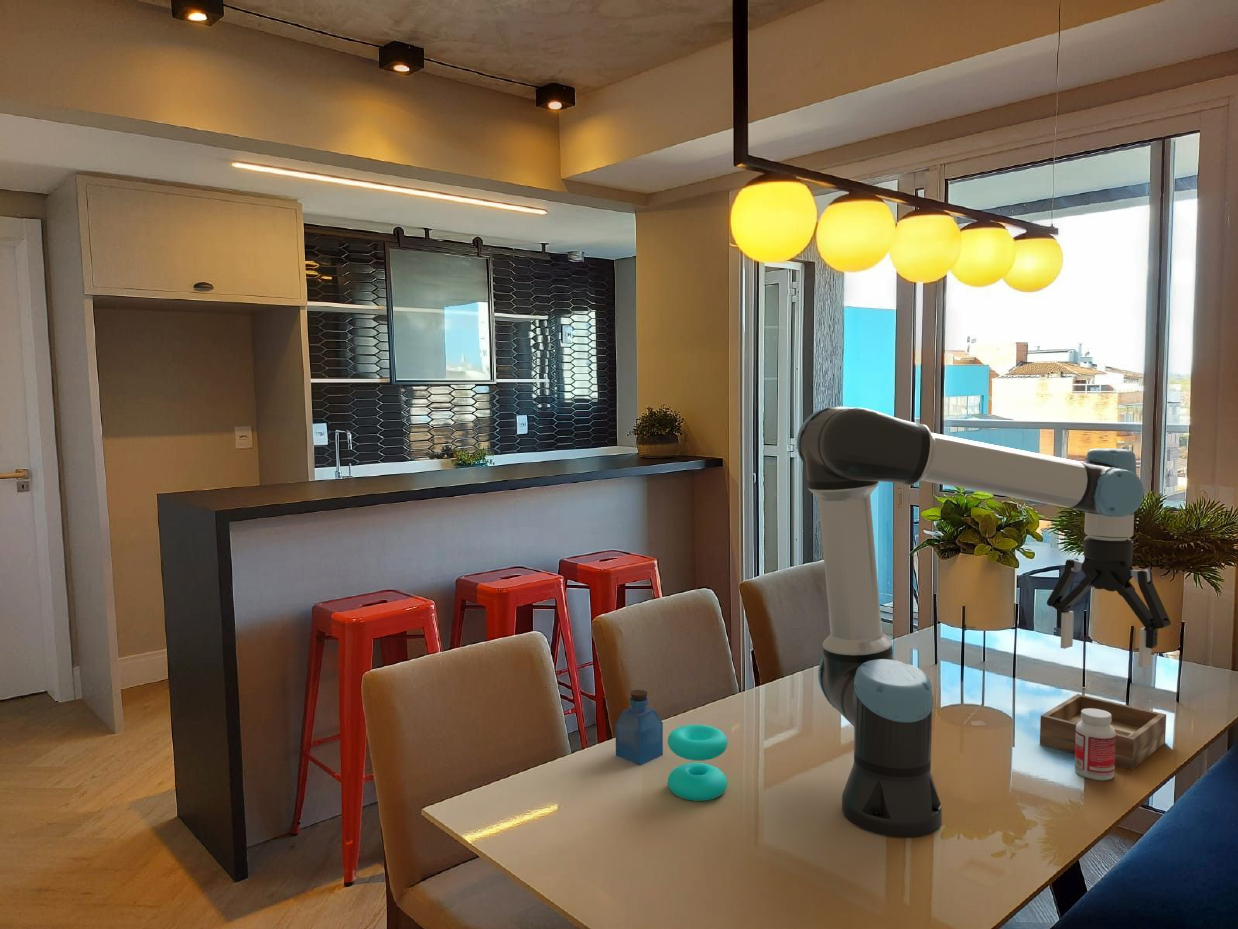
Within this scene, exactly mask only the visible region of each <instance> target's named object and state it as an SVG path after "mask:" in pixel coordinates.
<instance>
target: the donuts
mask: <svg viewBox="0 0 1238 929" xmlns="http://www.w3.org/2000/svg"><path fill="white" fill-rule="evenodd" d="M667 745H668V748H669V749H670V751H671V752H672V753H673V754H674V755H676V756H678V757H680V758H681V759H682V758H683V759H685V760H689V761H693V762H688V763H683V764H681V765H678V766H677V767H675V768H673V769H672V770H671V771H670V772H669V776H668V778H667V785H668V788H669V789H670V791H671V792H672V793H673V794H674V795H676V796H678V797H679V798H681V799H685V800H688V801H697V802H700V801H702V802H703V801H704V802H705V801H710V800H714V799H717V798H719V797H720V796H721V795H723V794H724V793H725V791H726V790H727V787H728V780H727V776H726V775H725V773H724V772H723V771H722V770H720V768H718V767H716V766H714V765H712V764H708V763H703V761H709V760H713V759H716V758H718V757H720V756H721V755H722V754H723V753H724V752H725V751H726V750H727V747H728V739H727V736H726V734H725V733H724V732H723V731H722V730H720V729H719V728H716V727H714V726H712V725H711V726H710V725H707V724H687V725H683V726H679V727H677V728H675V729H673V730H672V731H671V732H670V733H669V734H668V737H667ZM694 761H697V762H694ZM698 761H702V762H698Z"/></svg>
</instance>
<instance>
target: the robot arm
mask: <svg viewBox="0 0 1238 929" xmlns="http://www.w3.org/2000/svg"><path fill="white" fill-rule="evenodd" d="M796 449H797V452H798V456H799V458H800V460H801V462H802V463H803V465H804V466H805V467H806V469H805V470H806V479H807V488H808V491H810V492H811V493H812V494H813V495H814V496H815V497H816V498H817V500H818V509H819V511H818V512H819V520H820V530H821V542H822V544H821V545H822V554H823V564H824V575H825V587H826V596H827V605H828V606H827V608H828V619H829V630H830V633H829V635H828V636H827V637H826V638H825V639H824V641H823V642H822V650H823V657H822V658H821V660H820V663H819V666H818V670H817V672H818V674H817V678H818V684H819V685H820V686H819V687H820V689H821V692H822V693H823V696H824V698H826V700H827V701H828V703H829V705H831V706H832V707H833V708H834V709H836V711H837V712H839V714H840V715H842V716H843V718H844V719H845V720H847V722H849V724H850V725H851V726H852V727H853V729H854V731H853V732H854V733H853V734H854V736H853V741H854V742H853V764H852V767H851V770H850V773H849V775H848V778H847V780H846V782H845V786H844V789H843V792H842V797H841V811H842V814H843V816H844V817H845V818H846V819H847V820H848V821H849V823H850V822H851V824H853V825H855V826H856V827H858V828H860V829H863V830H865V831H868V832H871V833H874V834H876V835H877V834H878V835H882V836H887V837H894V838H917V837H923V836H927V835H931V834H933V833H935V832H936V831H937V830H939V828H940V827H941V825H942V818H943V817H942V816H943V811H942V810H943V809H942V804H941V801H940V797H939V794H938V791H937V788H936V784H935V782H934V778H933V774H932V770H931V768H932V743H933V742H932V741H933V738H932V737H933V736H932V734H933V708H934V705H935V704H934V696H933V695H934V694H933V685H932V682H931V679H930V677H929V676H928V675H927V674H926V673H925V672H924V671H923V670H921V669H920V668H919V667H917V666H915V665H912V664H907V663H905V662H904V661H901V660H900V661H899V660H894V650H893V648H894V647H893V646H894V645H893V640H892V639H891V638H890V637H889V636H888V635H886V634H885V633H884V632H883V631H882V629H883V628H882V618H881V617H882V616H881V605H880V595H879V593H880V592H879V583H878V570H877V558H876V548H875V547H876V546H875V545H876V544H875V534H874V526H873V525H874V523H873V513H872V502H871V500H872V499H871V494H872V493H873V492H874V490H875V489H876V488H877V487H878V486H879V484H880V483H879V482H884V483H885V482H886V483H887V482H888V483H896V484H902V485H908V486H915V485H917V484H918V483H920V482H921V481H922V482H928V483H933V484H938V485H944V486H949V487H954V488H960V489H965V490H971V491H975V492H976V491H977V492H980V493H981V492H983V493H987V494H993V495H998V496H1004V497H1009V498H1014V499H1018V500H1019V499H1020V500H1021V501H1023V502H1024V503H1026V504H1028V505H1035V506H1037V505H1040V506H1041V507H1042V506H1047V505H1050V506H1057V507H1061V508H1062V507H1063V508H1068V509H1071V510H1078V511H1083V512H1084V528H1083V531H1084V534H1085V535H1087V536H1085V538H1083V561H1081V560H1079V558H1075V557H1074V558H1069V559H1066V560H1065V563H1064V570H1063V572H1062V574H1061V576H1060V577H1059V579H1058V582H1057V583H1056V585H1055V586H1054V588H1053V590H1052V592H1051V594H1050V595H1049V597H1048V598H1047V601H1046V605H1047V606H1048V607H1052V608H1054V609H1055V610H1056V612H1057V613H1056V616H1057V618H1056V626H1057V629H1060V649H1063V650H1066V649H1069V648H1072V647H1073V642H1074V620H1075V619H1074V618H1075V617H1074V614H1075V612H1074V611H1073V610H1071V608H1072V607H1074V605H1075V604H1076V603H1077V602H1078V601H1079V600H1080V599H1081V598H1083V596H1085V595H1086V594H1087V593H1088V591H1090V589H1092V588H1093V587H1094V589H1096V590H1106V591H1107V592H1117V593H1118V595H1119V596H1121V597H1122V598H1123V600H1124V601H1125V603H1127V605H1128V606H1129V608H1130V609H1131V610H1132V611H1133V613H1134V615H1135V616H1136V617H1137V619H1138V620H1139V621H1140V623H1141V624H1142V625H1143V627H1141V628H1139V637H1138V638H1139V639H1138V662H1137V663H1138V665H1137V666H1138V667H1140V668H1146V667H1148V666H1151V665H1152V649H1155V648H1157V645H1158V635H1159V634H1158V632H1159V629H1164V628H1167V627H1170V626H1171V625H1172V622H1171V620H1170V617H1169V615H1168V613H1167V611H1166V609H1165V607H1164V604H1163V602H1162V599H1161V597H1160V595H1159V594H1158V591H1157V589H1156V587H1155V584H1154V583H1153V573H1152V572H1153V571H1152V570H1151V569H1150V568H1145V569H1134V568H1133V565H1132V564H1133V563H1132V561H1133V557H1134V556H1133V555H1134V541H1133V539H1131V538H1132V537H1133V536H1134V524H1135V517H1134V516H1135V512H1136V511H1137V510H1138V509H1139V508H1140V506H1141V504H1142V502H1143V499H1144V495H1145V490H1144V485H1143V482H1142V480H1141V478H1140V477H1139V476H1138V475H1137V461H1136V455H1135V452H1134V451H1133V450H1131V449H1127V448H1111V447H1109V448H1108V447H1106V448H1091V449H1089V450H1088V451H1087V453H1086V457H1085V460H1078V461H1077V460H1075V459H1073V460H1072V459H1067V458H1064V457H1063V458H1062V457H1057V456H1054V455H1053V456H1052V455H1047V454H1042V453H1037V452H1031V451H1027V450H1022V449H1016V448H1012V447H1007V446H1001V445H995V444H991V443H987V442H986V443H985V442H981V441H975V440H972V439H971V440H970V439H965V438H960V437H956V436H950V435H949V436H948V435H945V434H940V433H935V432H931V430H930V428H929V427H928V426H927V425H926V424H924V423H918V422H913V421H909V420H904V419H901V418H898V417H894V416H891V415H889V414H886V413H883V412H880V411H876V410H874V409H870V408H866V407H852V406H851V407H850V406H849V407H848V406H835V405H833V406H830V407H826V408H822V409H819V410H816V411H814V412H813V413H812V414H810V415H809V416H808V417H807V418H806V419H805V420H804V422H803V423H802V424H801V426H800V428H799V430H798V433H797V436H796ZM1081 570H1082V572H1083V573H1084V575H1085V576H1084V578H1083V579H1081V581H1080V582H1079V583H1078V585H1076V587H1075V588H1074V589H1073V590H1072V591H1071V592H1069V593H1068V594H1067V595H1066V593H1067V591H1068V590H1069V589H1070V587H1071V585H1072V583H1073V582H1074V579H1075V577H1076V576H1077V574H1078V572H1080V571H1081ZM1132 578H1134V581H1135V583H1136V582H1137V583H1138V587H1139V590H1140V591H1141V595H1142V597H1143V599H1144V600H1145V601H1143V599H1141V597H1140V595H1139V593H1137V592H1136V587H1135V586H1134V585H1133V584H1132V582H1131V581H1130V580H1131V579H1132ZM1145 603H1146V604H1145Z"/></svg>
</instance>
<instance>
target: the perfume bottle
mask: <svg viewBox="0 0 1238 929" xmlns="http://www.w3.org/2000/svg"><path fill="white" fill-rule="evenodd" d="M647 696H648V691H646V690H644V689H635V690H631V691H630V698H629V705H630V707H628V708H626V709H624V710H623V711H622V713H621V714H620V716H619V717H618V719H617V720H616V722H615V757H618V758H619V759H623V760H626V761H628V762H631V763H634V764H636V765H639V766H643V765H645V764H646V763H649V762H651V761H653V760H655V759H657V758H659V757H662V756H663V754H664V753H663V752H664V743H663V742H664V741H663V740H664V737H663V736H664V735H663V734H664V731H663V730H664V729H663V728H664V725H663V724H664V723H663V721H662V719H661V718H660V716H659V715H658V713H657V712H656V710H655V709H654V708H653V709H652V708H650V707H648V705H649V698H648V697H647Z"/></svg>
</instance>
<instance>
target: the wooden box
mask: <svg viewBox="0 0 1238 929" xmlns="http://www.w3.org/2000/svg"><path fill="white" fill-rule="evenodd" d="M1088 708H1092V709H1100V710H1104V711H1107V712H1109V713H1111V716H1112V721H1111V724H1110V725H1111V726H1112V727H1113V728H1114V730H1115V732H1116V742H1115V766H1118V767H1121V768H1124V769H1129V770H1134V769H1136V767H1138V766H1139V765H1140V764H1141V763H1143V761H1145V760H1146V759H1148V757H1149V756H1151V755H1152V754H1153V753H1154V752H1156V751H1157V750H1158V749H1159V748H1160V747H1162V746H1163V745H1164V744H1165V743H1166V735H1167V733H1166V731H1167V714H1166V713H1162V712H1158V711H1153V710H1149V709H1144V708H1140V707H1136V706H1131V705H1127V704H1122V703H1118V702H1115V701H1111V700H1110V701H1109V700H1106V699H1100V698H1097V697H1092V696H1089V695H1084V694H1080V693H1077V694H1075V695H1073V696H1071V697H1070V698H1068V699H1067V700H1065V701H1063V702H1062V703H1059V704H1058V705H1057V706H1054V707H1053V708H1051V709H1049V710H1048V711H1046V712H1045V713H1042V714H1041V715H1040V719H1039V721H1040V723H1039V724H1040V725H1039V726H1040V727H1039V744H1040V745H1042V746H1046V747H1049V748H1053V749H1057V750H1060V751H1064V752H1068V753H1072V754H1074V755H1075V738H1076V725H1077V724H1078V723H1079V722H1080V721H1082V719H1081V710H1083V709H1088Z"/></svg>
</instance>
